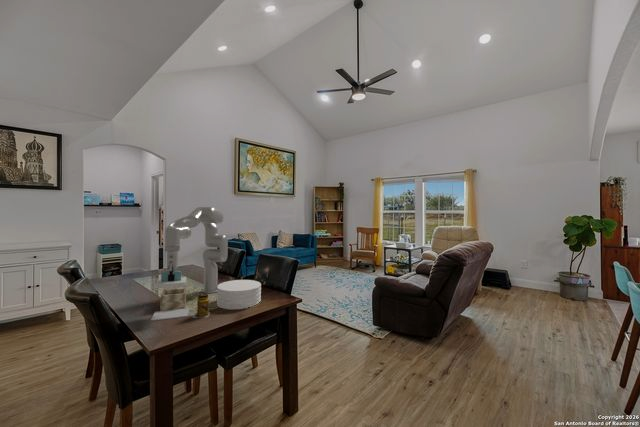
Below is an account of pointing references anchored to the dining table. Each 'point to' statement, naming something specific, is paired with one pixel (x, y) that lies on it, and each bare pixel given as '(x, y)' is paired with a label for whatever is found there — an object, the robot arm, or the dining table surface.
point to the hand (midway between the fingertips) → (171, 280)
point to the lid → (165, 283)
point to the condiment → (202, 306)
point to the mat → (170, 314)
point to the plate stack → (238, 294)
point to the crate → (173, 299)
